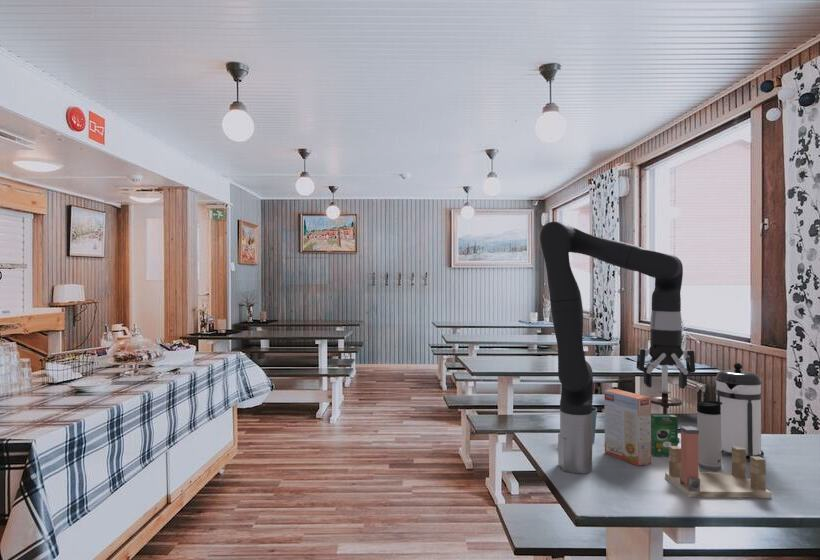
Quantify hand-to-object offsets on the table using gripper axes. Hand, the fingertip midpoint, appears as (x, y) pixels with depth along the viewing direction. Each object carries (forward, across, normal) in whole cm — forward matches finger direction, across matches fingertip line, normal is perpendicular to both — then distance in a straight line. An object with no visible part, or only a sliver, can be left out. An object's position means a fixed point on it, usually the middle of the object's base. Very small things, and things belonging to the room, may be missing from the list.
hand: (665, 387), depth 133 cm
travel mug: (+28, +20, +19) cm, 39 cm away
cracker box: (+28, -2, +24) cm, 37 cm away
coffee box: (+28, +11, +28) cm, 41 cm away
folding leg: (+24, +6, -1) cm, 25 cm away
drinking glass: (+28, -12, +40) cm, 51 cm away
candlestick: (+28, +18, +45) cm, 56 cm away
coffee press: (+28, +36, +32) cm, 55 cm away
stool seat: (+28, +15, +3) cm, 32 cm away
